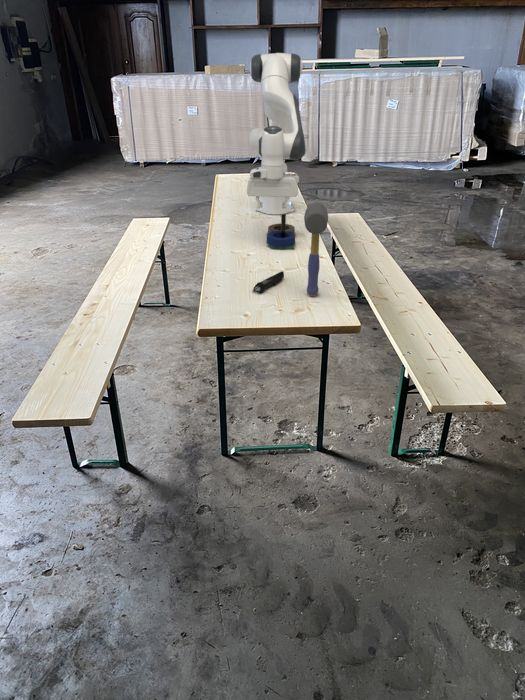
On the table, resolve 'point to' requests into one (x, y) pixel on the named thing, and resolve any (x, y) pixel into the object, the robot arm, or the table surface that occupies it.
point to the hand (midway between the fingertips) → (272, 207)
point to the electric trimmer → (268, 282)
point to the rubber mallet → (314, 242)
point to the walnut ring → (278, 228)
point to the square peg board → (283, 232)
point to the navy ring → (280, 239)
